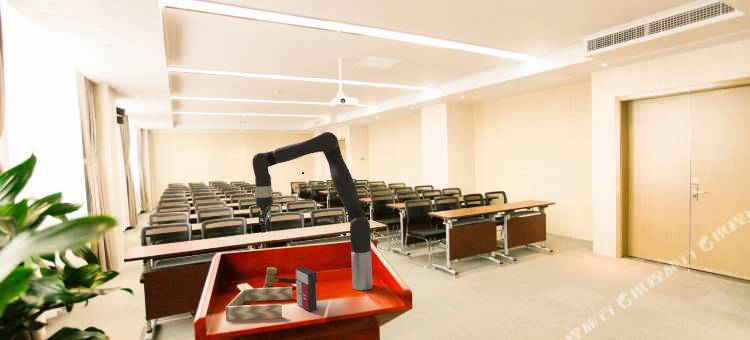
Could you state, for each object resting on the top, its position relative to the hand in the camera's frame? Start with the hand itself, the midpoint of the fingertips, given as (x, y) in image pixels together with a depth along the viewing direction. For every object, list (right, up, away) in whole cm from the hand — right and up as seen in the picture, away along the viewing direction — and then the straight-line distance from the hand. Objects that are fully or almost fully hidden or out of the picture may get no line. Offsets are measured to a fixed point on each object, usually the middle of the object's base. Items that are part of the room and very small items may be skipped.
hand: (266, 230), depth 174 cm
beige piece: (+5, -28, -22) cm, 36 cm away
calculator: (+23, -28, -22) cm, 42 cm away
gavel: (+9, -29, +2) cm, 30 cm away
